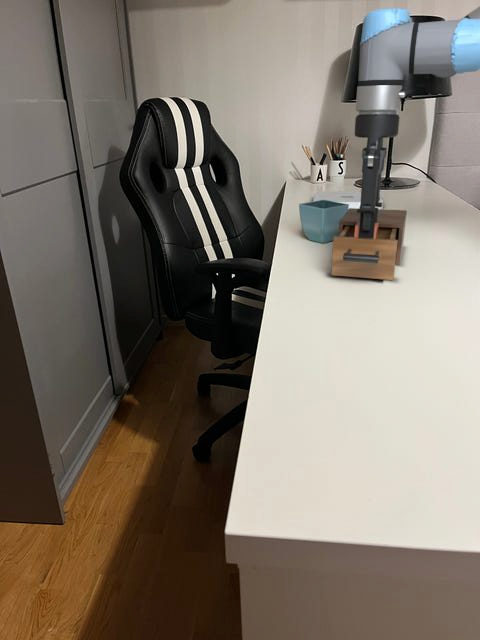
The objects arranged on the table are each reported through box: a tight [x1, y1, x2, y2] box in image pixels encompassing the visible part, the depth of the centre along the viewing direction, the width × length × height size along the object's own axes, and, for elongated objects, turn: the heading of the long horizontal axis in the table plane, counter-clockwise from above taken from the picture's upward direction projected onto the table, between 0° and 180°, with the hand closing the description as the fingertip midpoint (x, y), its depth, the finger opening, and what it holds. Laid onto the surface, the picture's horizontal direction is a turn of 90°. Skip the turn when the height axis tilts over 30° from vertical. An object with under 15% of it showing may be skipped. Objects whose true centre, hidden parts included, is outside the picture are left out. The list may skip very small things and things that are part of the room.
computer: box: [312, 190, 384, 210], centre depth 167 cm, size 22×22×3 cm
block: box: [354, 222, 379, 239], centre depth 96 cm, size 4×4×4 cm
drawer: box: [331, 225, 398, 281], centre depth 96 cm, size 19×11×7 cm, turn 161°
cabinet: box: [338, 208, 408, 266], centre depth 108 cm, size 15×13×9 cm
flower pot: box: [298, 200, 349, 244], centre depth 122 cm, size 9×9×9 cm
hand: (366, 243), depth 97 cm, fingers closed on block, 4 cm apart
